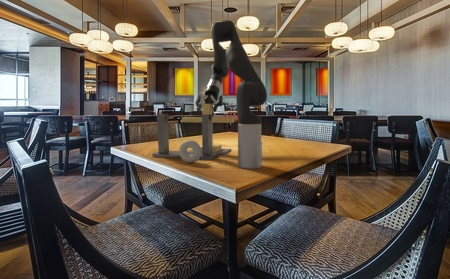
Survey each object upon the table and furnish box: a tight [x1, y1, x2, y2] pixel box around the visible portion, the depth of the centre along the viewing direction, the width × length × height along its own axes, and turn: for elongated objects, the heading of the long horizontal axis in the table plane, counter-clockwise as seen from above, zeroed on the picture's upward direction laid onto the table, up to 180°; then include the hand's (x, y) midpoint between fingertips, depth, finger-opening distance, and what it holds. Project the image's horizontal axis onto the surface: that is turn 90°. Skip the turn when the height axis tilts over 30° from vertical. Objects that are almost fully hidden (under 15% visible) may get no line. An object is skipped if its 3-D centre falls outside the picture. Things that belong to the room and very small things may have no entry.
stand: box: [151, 113, 219, 161], centre depth 125 cm, size 30×10×20 cm, turn 73°
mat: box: [187, 148, 232, 156], centre depth 138 cm, size 20×14×1 cm
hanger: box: [181, 103, 235, 152], centre depth 137 cm, size 28×10×24 cm, turn 73°
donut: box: [178, 139, 201, 164], centre depth 112 cm, size 10×4×10 cm, turn 76°
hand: (206, 111), depth 134 cm, fingers open, 8 cm apart
